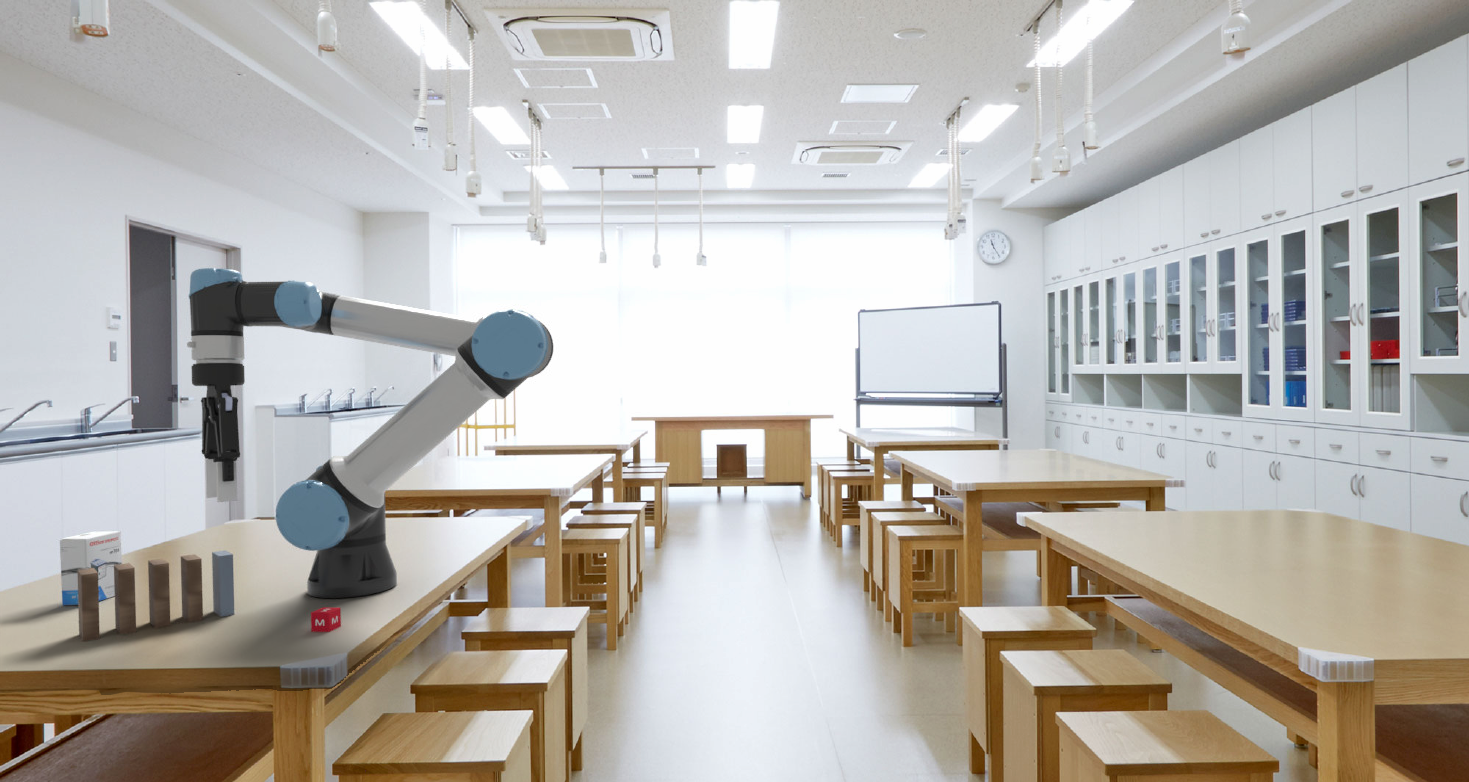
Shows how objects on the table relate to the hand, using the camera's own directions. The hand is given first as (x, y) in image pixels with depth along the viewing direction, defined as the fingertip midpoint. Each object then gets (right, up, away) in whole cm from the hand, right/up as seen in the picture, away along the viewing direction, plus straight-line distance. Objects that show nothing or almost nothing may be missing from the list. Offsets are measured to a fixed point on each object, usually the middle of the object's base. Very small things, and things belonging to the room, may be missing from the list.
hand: (221, 498), depth 140 cm
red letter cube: (+23, -19, -10) cm, 31 cm away
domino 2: (-6, -19, -6) cm, 21 cm away
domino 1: (-9, -19, -9) cm, 23 cm away
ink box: (-30, -20, +11) cm, 37 cm away
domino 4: (0, -19, 0) cm, 19 cm away
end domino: (-13, -19, -12) cm, 26 cm away
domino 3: (-3, -19, -3) cm, 20 cm away
